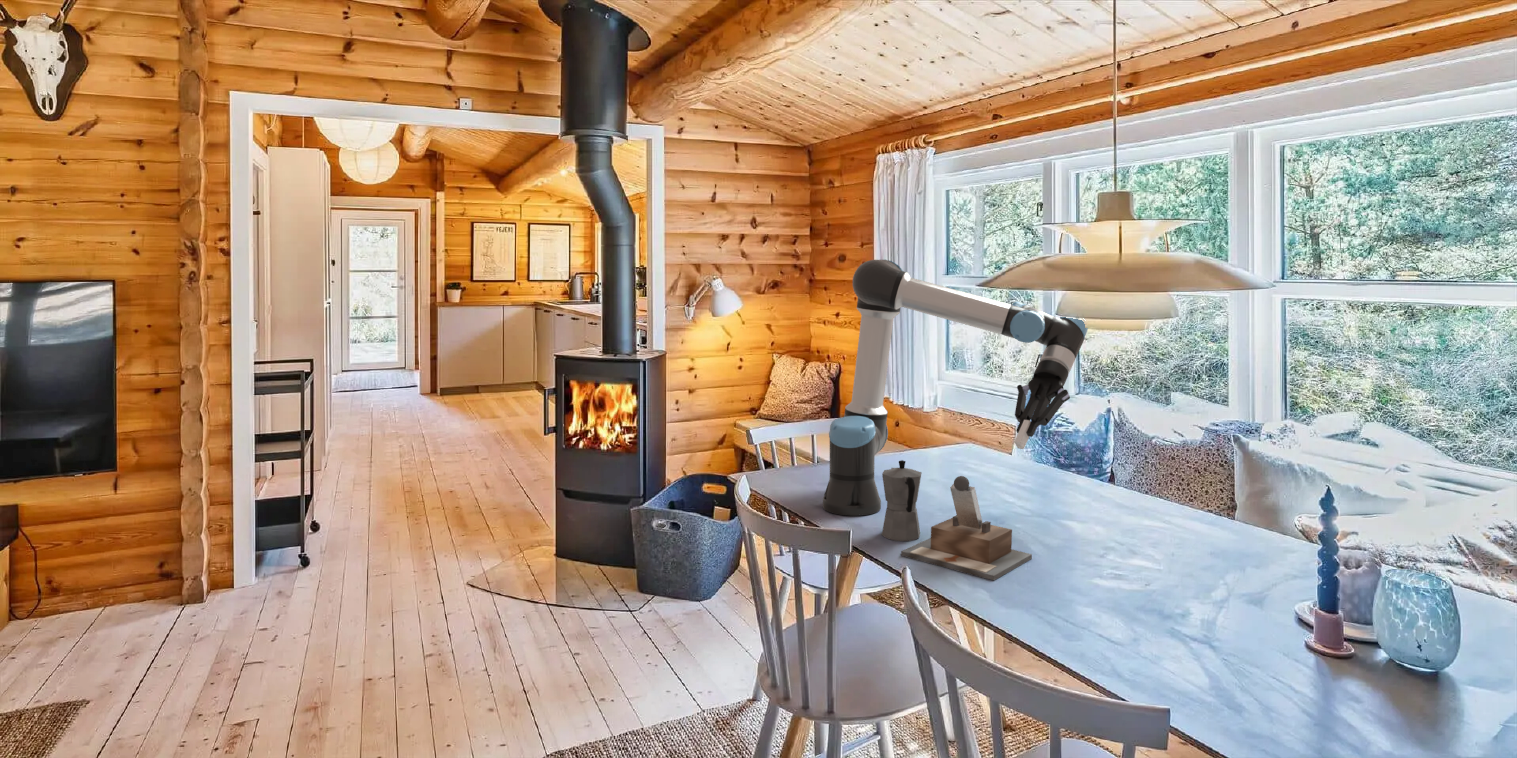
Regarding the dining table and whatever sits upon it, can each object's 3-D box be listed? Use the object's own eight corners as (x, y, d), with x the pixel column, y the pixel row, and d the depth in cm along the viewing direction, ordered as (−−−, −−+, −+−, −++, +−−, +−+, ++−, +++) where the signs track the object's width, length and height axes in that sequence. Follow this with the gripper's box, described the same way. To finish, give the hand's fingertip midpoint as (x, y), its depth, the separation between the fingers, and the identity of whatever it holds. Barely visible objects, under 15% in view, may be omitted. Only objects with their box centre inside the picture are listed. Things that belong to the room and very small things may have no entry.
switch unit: (901, 555, 181) (901, 520, 180) (942, 536, 193) (942, 503, 192) (993, 580, 166) (994, 542, 165) (1031, 558, 178) (1033, 522, 177)
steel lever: (957, 526, 181) (946, 479, 176) (964, 518, 183) (953, 471, 178) (977, 531, 177) (967, 483, 172) (984, 522, 179) (974, 475, 174)
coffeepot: (874, 527, 201) (875, 454, 198) (912, 525, 202) (913, 453, 199) (891, 548, 186) (892, 470, 183) (932, 546, 187) (933, 468, 184)
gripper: (1084, 380, 201) (1050, 459, 191) (1033, 375, 210) (998, 450, 200) (1075, 360, 196) (1040, 440, 187) (1024, 356, 205) (988, 432, 196)
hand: (1018, 445), depth 193 cm, fingers closed
